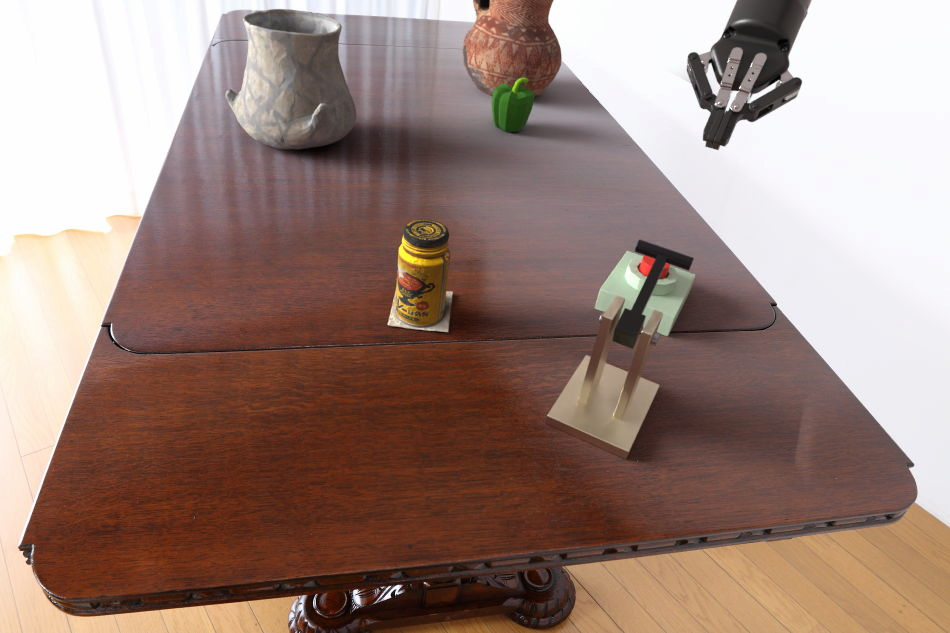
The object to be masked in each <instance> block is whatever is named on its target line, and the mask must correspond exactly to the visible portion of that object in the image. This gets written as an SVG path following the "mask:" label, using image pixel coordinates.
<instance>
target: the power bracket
mask: <svg viewBox="0 0 950 633" xmlns="http://www.w3.org/2000/svg"><path fill="white" fill-rule="evenodd" d="M624 302H625V298H623V297H620V296H617V295H616V297H615V298H614V300H613V301H612V303H611V304H610V306H609V307H608V309H607V310H606V312H604V311H603V312H602V311H601V314H600V316H599V319H598V322H597V323H598V326H599V328H598V330H597V334H596V337H595V340H594V345H593V347H592V352H591V354H590V355H587V354H585V356H584V357H583V358H582V361H580V363H579V365H578V366H577V368H576V369H575V371H574V373H573V374H572V376H571V377H570V379H569V381H568V382H567V384H565V386H564V388H563V390H562V392H561V393H560V394H559V395H558V398H557V399H556V401H555V402H554V404H553V406H552V407H551V409H550V410H549V412H548V413H547V414H546V418H545V421H544V422H545V424H546V425H548V426H550V427H553V428H555V429H557V430H559V431H562V432H564V433H566V434H568V435H571V436H573V437H575V438H577V439H580V440H582V441H583V442H586V443H588V444H591V445H592V446H595V447H597V448H599V449H602V450H604V451H606V452H608V453H610V454H613V455H615V456H617V457H619V458H621V459H623V460H627V459H628V458H629V454H630V453H631V450H632V448H633V446H634V444H635V442H636V439H637V437H638V435H639V433H640V431H641V429H642V426H643V424H644V422H645V419H646V418H647V416H648V413H649V412H650V409H651V407H652V405H653V402H654V401H655V398H656V395H657V394H658V391H659V389H660V385H661V384H659V383H657V382H654V381H651V380H649V379H646V378H644V377H642V374H643V372H644V369H645V366H646V363H647V361H648V358H649V355H650V352H651V349H652V347H656V346H657V343H658V342H659V339H660V336H661V334H660V333H659V332H657V330H658V327H659V324H660V322H661V319H662V316H663V313H662V312H660V311H657V310H653V312H652V314H651V316H650V318H649V320H648V321H647V323H646V325H645V327H643V329H642V331H641V333H640V335H639V338H638V341H637V344H636V346H635V347H636V348H635V350H634V353H633V356H632V359H631V362H630V365H629V368H628V371H627V370H624V369H621V368H619V367H618V366H615V365H612V364H609V363H607V359H608V356H609V353H610V350H611V347H612V344H613V342H614V341H613V335H614V330H615V327H616V325H617V323H618V321H619V319H620V315H621V312H622V309H623V305H624Z"/></svg>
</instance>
